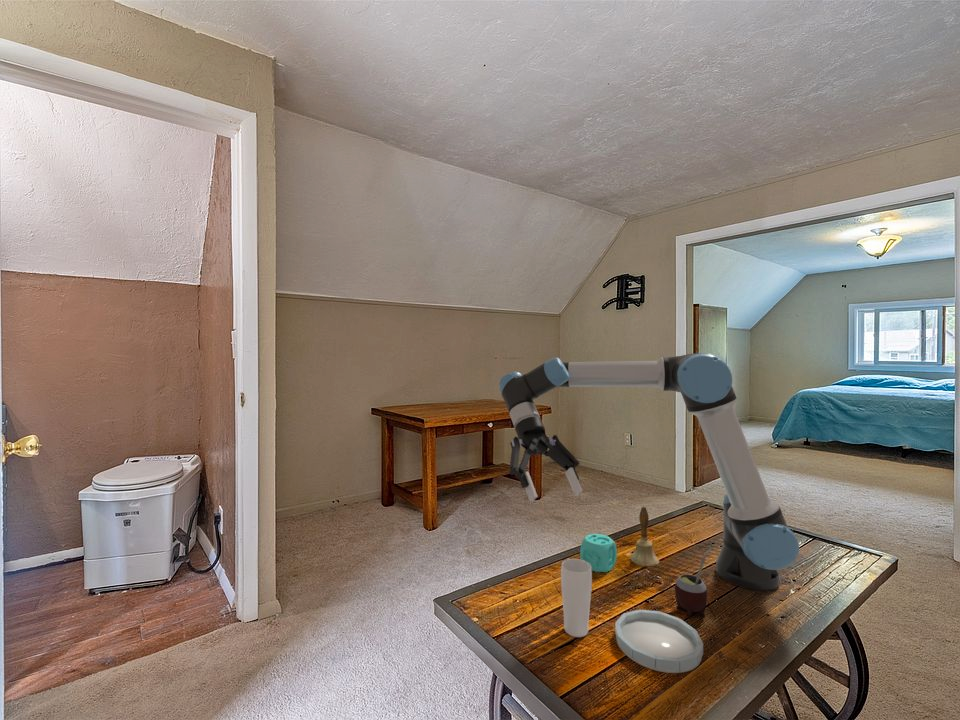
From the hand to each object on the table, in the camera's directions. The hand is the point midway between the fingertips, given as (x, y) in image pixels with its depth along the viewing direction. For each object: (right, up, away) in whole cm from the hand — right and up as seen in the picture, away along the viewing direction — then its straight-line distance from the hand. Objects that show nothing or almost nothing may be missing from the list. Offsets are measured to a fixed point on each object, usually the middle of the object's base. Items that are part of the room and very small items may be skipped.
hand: (557, 496), depth 110 cm
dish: (+19, -28, -13) cm, 36 cm away
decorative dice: (+16, -27, +22) cm, 38 cm away
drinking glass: (+3, -28, -8) cm, 29 cm away
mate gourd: (+32, -28, -1) cm, 43 cm away
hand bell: (+31, -27, +26) cm, 48 cm away
